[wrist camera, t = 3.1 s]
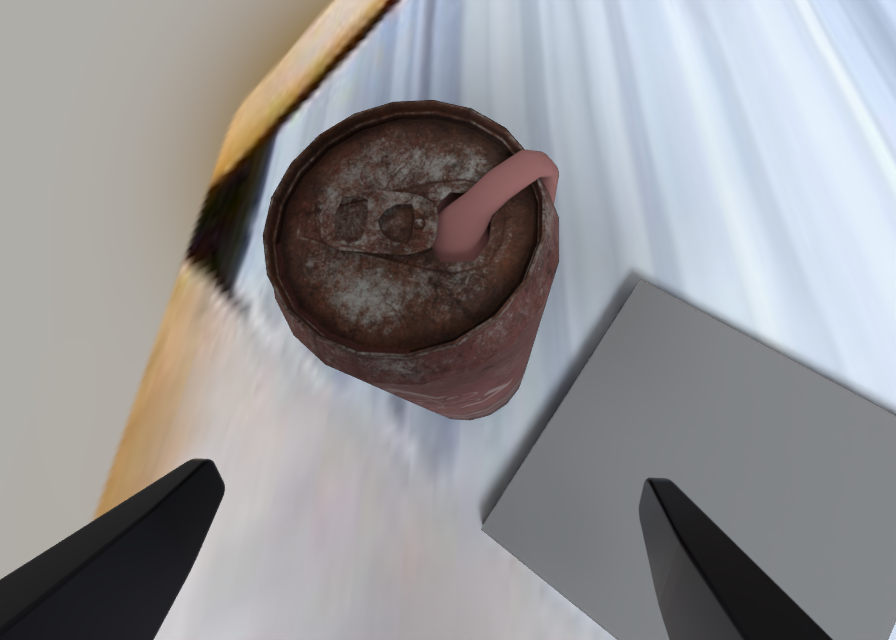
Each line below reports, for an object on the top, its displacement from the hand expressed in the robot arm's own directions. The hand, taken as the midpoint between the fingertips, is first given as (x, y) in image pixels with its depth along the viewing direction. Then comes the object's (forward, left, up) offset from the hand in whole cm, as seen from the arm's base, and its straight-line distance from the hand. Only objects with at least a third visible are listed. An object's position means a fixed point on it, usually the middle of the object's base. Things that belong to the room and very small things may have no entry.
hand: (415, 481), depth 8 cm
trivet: (+5, -9, -12) cm, 16 cm away
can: (+4, +3, -12) cm, 13 cm away
